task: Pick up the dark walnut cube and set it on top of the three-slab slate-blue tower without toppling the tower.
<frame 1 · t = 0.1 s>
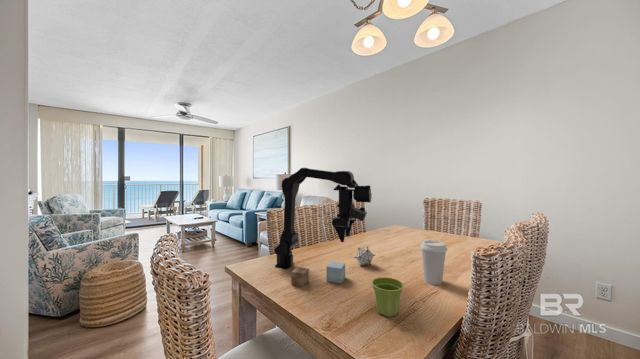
hand: (345, 239, 104), 15 cm above the table, fingers open, 9 cm apart
slab bottom: (336, 280, 100), on the table, touching slab middle
slab top: (336, 269, 100), point 4 cm above the table, touching slab middle
slab middle: (336, 275, 100), point 2 cm above the table, touching slab bottom, slab top
walnut cube: (300, 283, 97), on the table
plant pot: (387, 311, 77), on the table
coffee cup: (432, 281, 98), on the table
game die: (364, 265, 115), on the table
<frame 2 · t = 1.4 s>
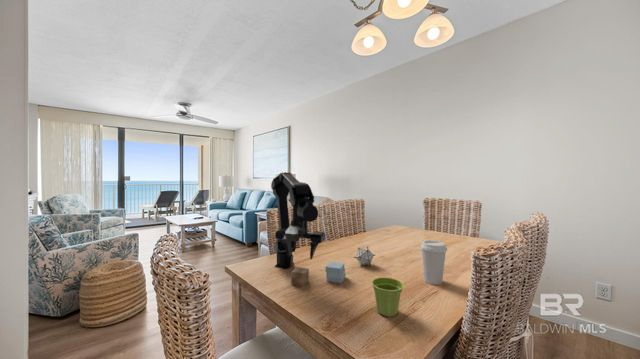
hand: (300, 257, 96), 10 cm above the table, fingers open, 9 cm apart
nothing on the table moved.
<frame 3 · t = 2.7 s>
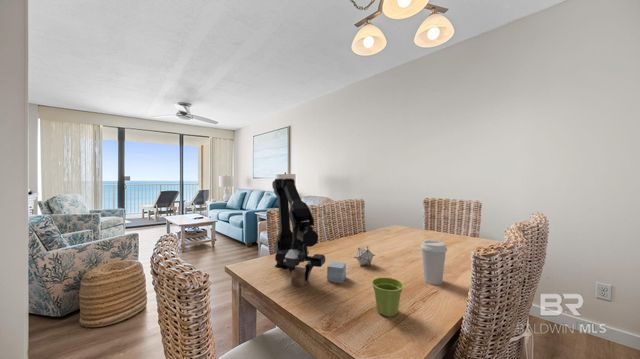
hand: (300, 280, 97), 1 cm above the table, fingers closed on walnut cube, 5 cm apart
walnut cube: (300, 282, 97), on the table, touching gripper
everything else where it was.
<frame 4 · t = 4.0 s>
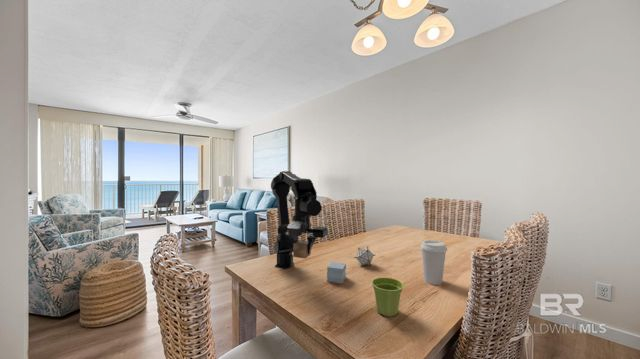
hand: (302, 252, 96), 11 cm above the table, fingers closed on walnut cube, 5 cm apart
walnut cube: (302, 255, 96), point 10 cm above the table, touching gripper
everything else where it was.
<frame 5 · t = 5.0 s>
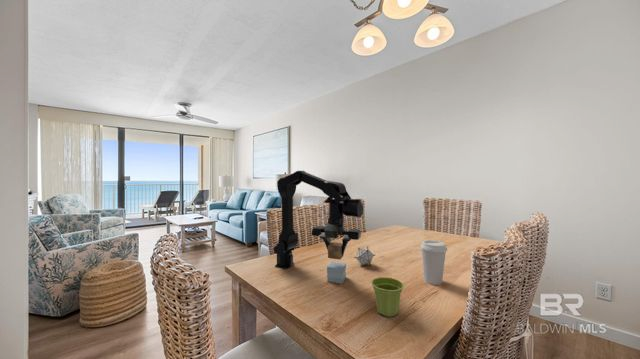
hand: (335, 254, 100), 10 cm above the table, fingers closed on walnut cube, 5 cm apart
slab top: (336, 270, 100), point 3 cm above the table
slab middle: (336, 275, 100), point 1 cm above the table, touching slab bottom
walnut cube: (335, 256, 100), point 9 cm above the table, touching gripper
everything else where it was.
when the fingers open (8 cm above the table, at t = 5.7 s): walnut cube drops 1 cm, resting on slab top.
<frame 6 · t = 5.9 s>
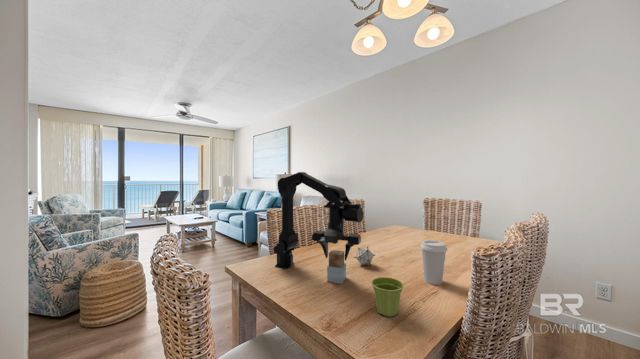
hand: (336, 258, 100), 8 cm above the table, fingers open, 7 cm apart
slab top: (336, 269, 100), point 4 cm above the table, touching slab middle, walnut cube
slab middle: (336, 275, 100), point 2 cm above the table, touching slab bottom, slab top
walnut cube: (336, 264, 100), point 6 cm above the table, touching slab top
everything else where it was.
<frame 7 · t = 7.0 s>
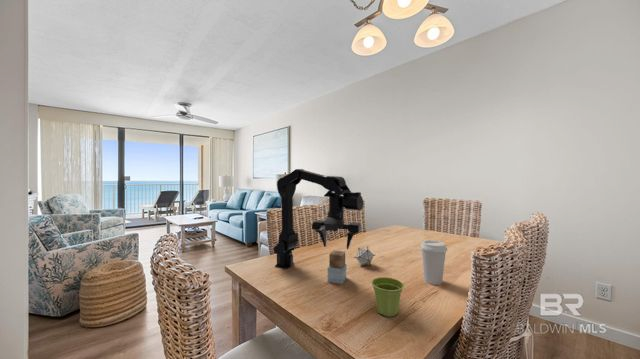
hand: (336, 247, 100), 12 cm above the table, fingers open, 9 cm apart
slab bottom: (337, 280, 100), on the table
slab middle: (337, 275, 99), point 2 cm above the table, touching slab top
everything else where it was.
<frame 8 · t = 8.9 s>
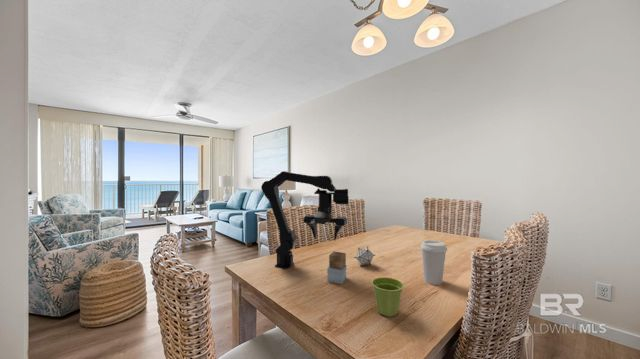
hand: (325, 239, 112), 13 cm above the table, fingers open, 9 cm apart
slab bottom: (337, 281, 100), on the table, touching slab middle
slab middle: (337, 276, 100), point 1 cm above the table, touching slab bottom, slab top
everything else where it was.
at the end: walnut cube 0.2 cm off-centre on the slab top, point 2.0 cm above the slab top's base; slab top moved 0.9 cm from its start; the gripper is holding nothing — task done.
